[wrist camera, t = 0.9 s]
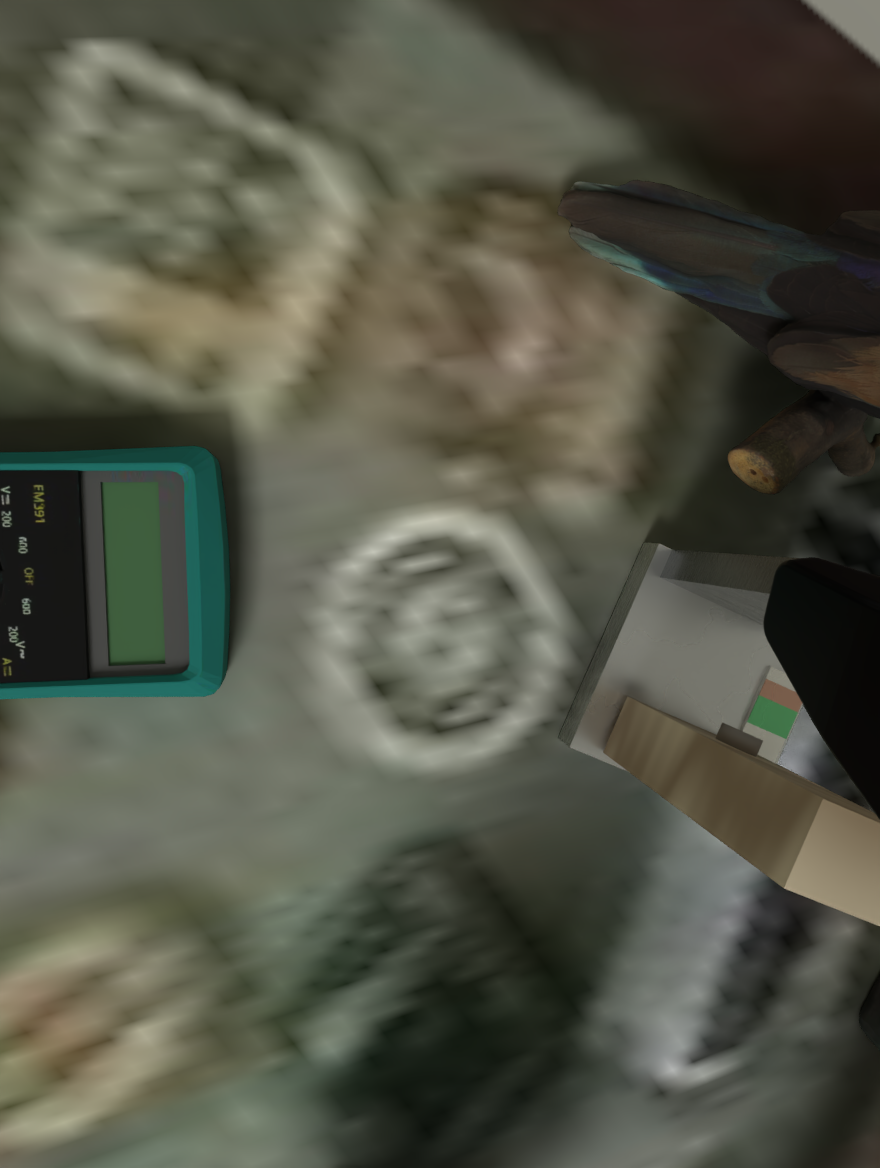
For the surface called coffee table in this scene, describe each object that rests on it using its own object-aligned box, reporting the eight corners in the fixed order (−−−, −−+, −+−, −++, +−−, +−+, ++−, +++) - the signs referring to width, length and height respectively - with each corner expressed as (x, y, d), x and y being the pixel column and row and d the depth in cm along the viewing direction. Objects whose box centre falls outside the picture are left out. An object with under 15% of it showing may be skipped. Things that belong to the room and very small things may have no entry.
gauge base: (732, 810, 29) (900, 920, 21) (558, 737, 28) (665, 826, 20) (814, 623, 29) (1012, 662, 21) (643, 542, 28) (785, 550, 20)
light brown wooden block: (750, 813, 27) (1001, 975, 18) (602, 752, 26) (783, 887, 17) (779, 745, 27) (1047, 869, 18) (633, 682, 26) (833, 776, 17)
